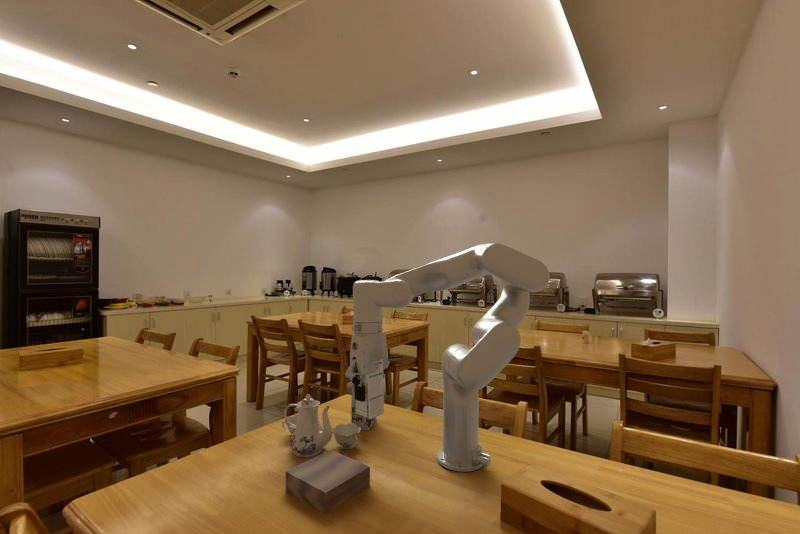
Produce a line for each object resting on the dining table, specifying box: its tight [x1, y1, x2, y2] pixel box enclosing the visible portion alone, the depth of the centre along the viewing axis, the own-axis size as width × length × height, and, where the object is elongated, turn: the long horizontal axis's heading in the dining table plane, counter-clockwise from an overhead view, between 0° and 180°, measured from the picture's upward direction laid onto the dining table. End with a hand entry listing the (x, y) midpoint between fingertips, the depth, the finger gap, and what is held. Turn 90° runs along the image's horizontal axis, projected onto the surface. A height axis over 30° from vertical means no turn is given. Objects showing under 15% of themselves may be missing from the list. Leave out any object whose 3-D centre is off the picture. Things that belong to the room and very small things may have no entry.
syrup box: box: [354, 359, 385, 419], centre depth 103 cm, size 6×6×14 cm
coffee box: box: [350, 383, 377, 432], centre depth 132 cm, size 9×6×16 cm
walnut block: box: [285, 449, 371, 515], centre depth 95 cm, size 14×14×5 cm
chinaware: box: [281, 393, 363, 458], centre depth 117 cm, size 28×17×17 cm, turn 70°
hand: (369, 396), depth 103 cm, fingers closed on syrup box, 6 cm apart
